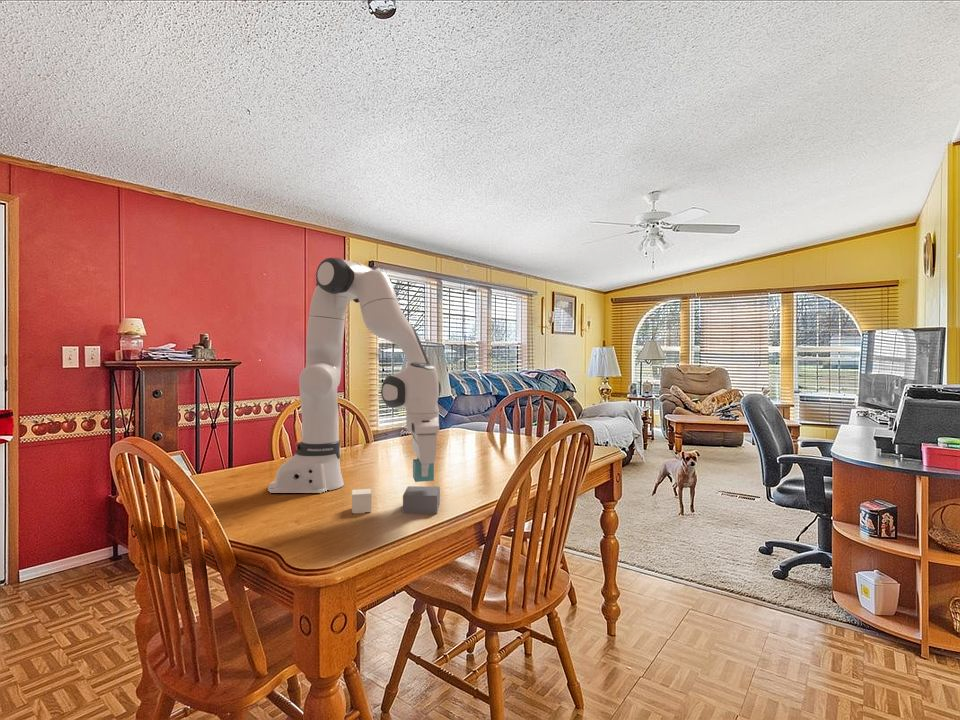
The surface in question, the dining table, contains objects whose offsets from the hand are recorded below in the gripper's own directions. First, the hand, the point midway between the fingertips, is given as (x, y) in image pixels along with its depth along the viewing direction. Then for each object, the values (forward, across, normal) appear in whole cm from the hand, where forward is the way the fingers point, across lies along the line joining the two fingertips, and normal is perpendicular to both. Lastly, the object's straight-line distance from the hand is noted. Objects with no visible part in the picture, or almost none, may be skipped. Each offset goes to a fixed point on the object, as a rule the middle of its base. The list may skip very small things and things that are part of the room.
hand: (422, 473), depth 145 cm
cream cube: (+10, -2, -16) cm, 19 cm away
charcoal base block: (+10, 0, 0) cm, 10 cm away
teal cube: (+2, 0, 0) cm, 2 cm away
